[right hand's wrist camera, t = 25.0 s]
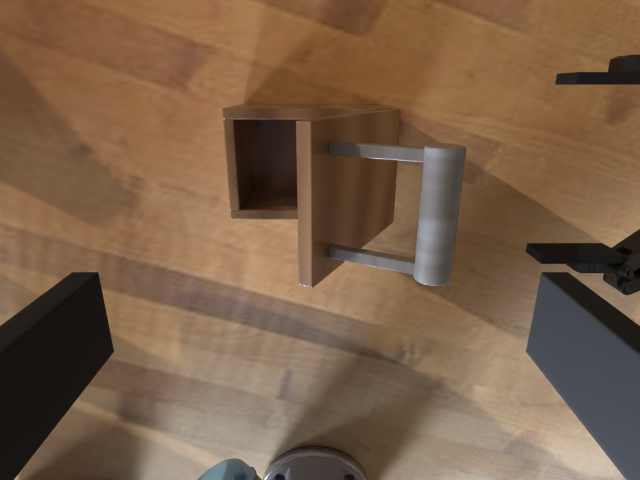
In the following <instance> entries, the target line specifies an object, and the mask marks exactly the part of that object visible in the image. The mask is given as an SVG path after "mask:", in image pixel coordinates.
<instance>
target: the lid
mask: <svg viewBox="0 0 640 480" xmlns="http://www.w3.org/2000/svg"><path fill="white" fill-rule="evenodd" d="M399 126H400V109H385V110H377V111H369V112H361V113H353V114H345V115H337V116H329V117H321V118H313V119H305V120H298V121H296V145H297V199H298V254H299V285H302V286H306V287H310V288H313V287H314V286H315V285H317V284H318V283H319V282H320V281H322V280H323V279H324V278H325V277H327V276H328V275H329V274H330V273H331V272H333V271H334V270H335V269H336V268H338V267H339V266H340V265H341V264H342V263H344V262H345V261H349V262H354V263H359V264H363V265H368V266H373V267H378V268H383V269H388V270H393V271H398V272H403V273H408V274H413V275H414V278H415V280H416V281H418V282H420V283H422V284H425V285H430V286H442V285H446V284H448V283H449V282H450V280H451V273H452V265H453V256H454V248H455V239H456V231H457V222H458V214H459V206H460V197H461V189H462V180H463V172H464V164H465V155H466V147H465V146H463V145H457V144H427V145H425V147H419V146H403V145H398V142H399ZM397 160H399V161H411V162H423V171H422V183H421V195H420V206H419V218H418V230H417V242H416V253H415V259H413V258H408V257H402V256H397V255H392V254H386V253H381V252H375V251H370V250H365V249H361V248H362V247H363V246H365V245H366V244H367V243H368V242H369V241H371V240H372V239H373V238H374V237H376V236H377V235H378V234H379V233H380V232H382V231H383V230H384V229H385V228H387V227H388V226H389V225H390V224H392V223H393V220H394V204H395V189H396V173H397Z"/></svg>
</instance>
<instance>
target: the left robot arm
mask: <svg viewBox="0 0 640 480" xmlns="http://www.w3.org/2000/svg"><path fill="white" fill-rule="evenodd" d="M555 84H640V55H626V56H618V57H615V58H613V59H611V60H610V64H609V69H608V72H576V73H562V74H557V78H556V83H555ZM526 252H527V253H528V254H529V255H531V256H532V257H533V258H535V259H536V260H537V261H539V262H540V263H541V264H566V265H568V266H569V267H571V268H572V269H573V270H575V271H577V272H579V273H605V274H604V276H603V280H604V281H605V282H606V283H608V284H609V285H611V286H612V287H614V288H615V289H617V290H618V291H620V292H621V293H623V294H625V295H630V294H633V293H635V292H638V291H640V229H639V230H638V231H636V232H635V233H633V234H632V235H630V236H629V237H627V238H626V239H624V240H623V241H621V242H620V243H618V244H617V245H615V246H614V247H612V248H610V247H608V246H606V245H604V244H602V243H529V244H527V247H526ZM197 480H262V479H261V478H260V477H259V476H258V475H257V474H256V471H255V469H254V468H253V467H249V466H248V465H247V464H246V463H245V462H244V461H242V460H240V459H228V460H224V461H222V462H220V463H218V464H216V465H215V466H213V467H212V468H210V469H209V470H208V471H207V472H206V473H204V474H203V475H202V476H201V477H199V478H198V479H197ZM263 480H367V478H366V475H365V472H364V471H363V469H362V467H361V466H360V465H359V464H358V463H357V462H356V461H355V460H354V459H353V458H351V457H350V456H349V455H347V454H345V453H343V452H341V451H338V450H335V449H332V448H327V447H317V446H313V447H303V448H298V449H294V450H291V451H289V452H287V453H284V454H283V455H281V456H279V457H278V458H277V459H275V460H274V461H273V462H272V463H271V464H270V466H269V467H268V468H267V470H266V472H265V474H264V477H263Z"/></svg>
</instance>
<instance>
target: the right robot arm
mask: <svg viewBox="0 0 640 480" xmlns="http://www.w3.org/2000/svg"><path fill="white" fill-rule="evenodd" d="M113 352H114V349H113V344H112V339H111V334H110V329H109V324H108V319H107V314H106V309H105V304H104V299H103V294H102V289H101V284H100V279H99V274H98V272H72V273H71V274H70V275H68V276H67V277H65V278H64V279H63V280H61V281H60V282H59V283H57V284H56V285H55V286H53V287H52V288H51V289H49V290H48V291H47V292H45V293H44V294H43V295H41V296H40V297H39V298H37V299H36V300H35V301H33V302H32V303H31V304H29V305H28V306H27V307H25V308H24V309H23V310H21V311H20V312H19V313H17V314H16V315H15V316H13V317H12V318H11V319H9V320H8V321H7V322H5V323H4V324H2V325H1V326H0V480H14V479H15V477H16V476H17V475H18V474H19V472H20V471H21V470H22V469H23V467H24V466H25V465H26V463H27V462H28V461H29V460H30V458H31V457H32V456H33V454H34V453H35V452H36V451H37V449H38V448H39V447H40V445H41V444H42V443H43V442H44V440H45V439H46V438H47V437H48V435H49V434H50V433H51V431H52V430H53V429H54V428H55V426H56V425H57V424H58V422H59V421H60V420H61V419H62V417H63V416H64V415H65V413H66V412H67V411H68V410H69V408H70V407H71V406H72V405H73V403H74V402H75V401H76V399H77V398H78V397H79V396H80V394H81V393H82V392H83V390H84V389H85V388H86V387H87V385H88V384H89V383H90V381H91V380H92V379H93V378H94V376H95V375H96V374H97V372H98V371H99V370H100V369H101V367H102V366H103V365H104V364H105V362H106V361H107V360H108V358H109V357H110V356H111V355H112V353H113ZM526 352H527V353H528V355H529V356H530V357H531V358H532V360H533V361H534V362H535V364H536V365H537V366H538V367H539V369H540V370H541V371H542V372H543V374H544V375H545V376H546V378H547V379H548V380H549V381H550V383H551V384H552V385H553V387H554V388H555V389H556V390H557V392H558V393H559V394H560V396H561V397H562V398H563V399H564V401H565V402H566V403H567V405H568V406H569V407H570V408H571V410H572V411H573V412H574V413H575V415H576V416H577V417H578V419H579V420H580V421H581V422H582V424H583V425H584V426H585V428H586V429H587V430H588V431H589V433H590V434H591V435H592V437H593V438H594V439H595V440H596V442H597V443H598V444H599V445H600V447H601V448H602V449H603V451H604V452H605V453H606V454H607V456H608V457H609V458H610V460H611V461H612V462H613V463H614V465H615V466H616V467H617V469H618V470H619V471H620V472H621V474H622V475H623V476H624V477H625V479H626V480H640V326H639V325H637V324H636V323H635V322H633V321H632V320H631V319H629V318H628V317H627V316H625V315H624V314H623V313H621V312H620V311H619V310H617V309H616V308H615V307H613V306H612V305H611V304H609V303H608V302H607V301H605V300H604V299H603V298H601V297H600V296H599V295H597V294H596V293H595V292H593V291H592V290H591V289H589V288H588V287H587V286H585V285H584V284H583V283H581V282H580V281H579V280H577V279H576V278H575V277H573V276H572V275H570V274H569V273H568V272H542V274H541V279H540V284H539V289H538V294H537V299H536V304H535V309H534V314H533V319H532V324H531V329H530V334H529V339H528V344H527V349H526Z"/></svg>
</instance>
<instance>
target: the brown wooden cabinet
mask: <svg viewBox="0 0 640 480" xmlns="http://www.w3.org/2000/svg"><path fill="white" fill-rule="evenodd" d="M385 109H393V108H389V107H386V106H382V105H379V104H242V105H237V106H233V107H228V108H223V119H224V120H223V122H224V135H225V148H226V161H227V174H228V188H229V201H230V214H231V219H298V199H297V145H296V121H298V120H305V119H313V118H321V117H329V116H337V115H345V114H353V113H361V112H369V111H377V110H385Z"/></svg>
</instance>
